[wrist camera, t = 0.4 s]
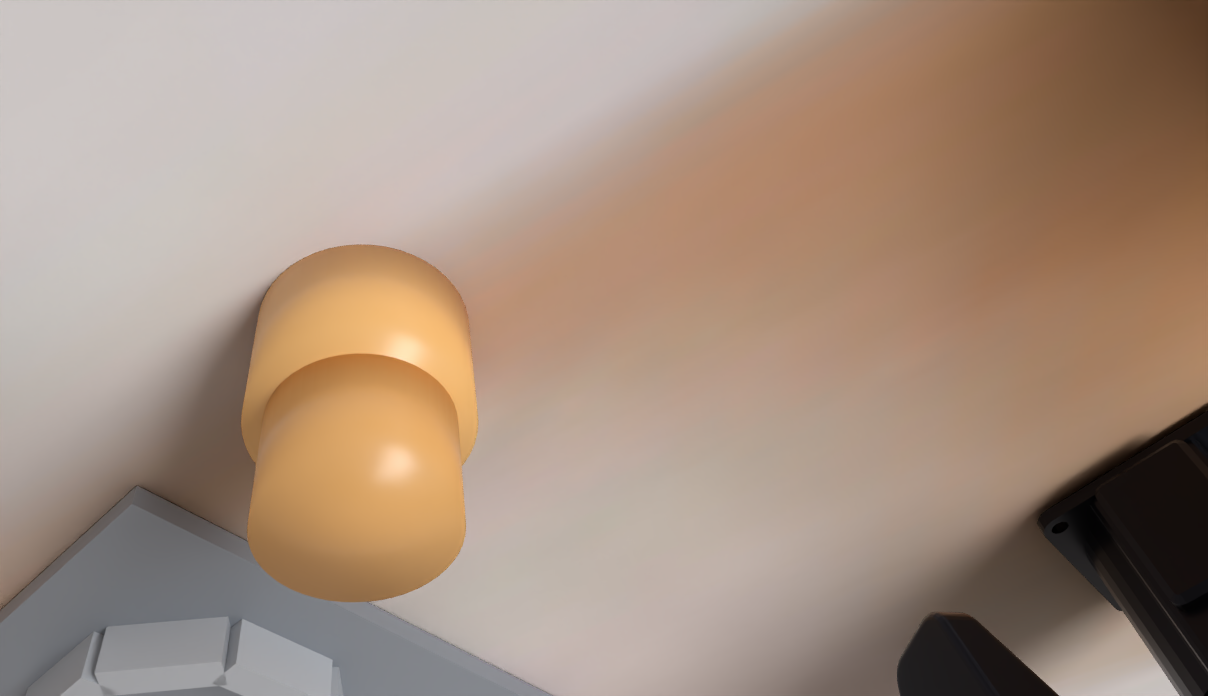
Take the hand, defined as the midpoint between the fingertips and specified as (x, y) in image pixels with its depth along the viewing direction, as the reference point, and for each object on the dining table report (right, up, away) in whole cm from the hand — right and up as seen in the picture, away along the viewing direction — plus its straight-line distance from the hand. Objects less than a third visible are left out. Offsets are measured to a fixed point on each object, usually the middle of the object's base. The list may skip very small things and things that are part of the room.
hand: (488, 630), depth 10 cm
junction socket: (-9, -8, +21) cm, 25 cm away
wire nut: (-4, +3, +13) cm, 14 cm away
